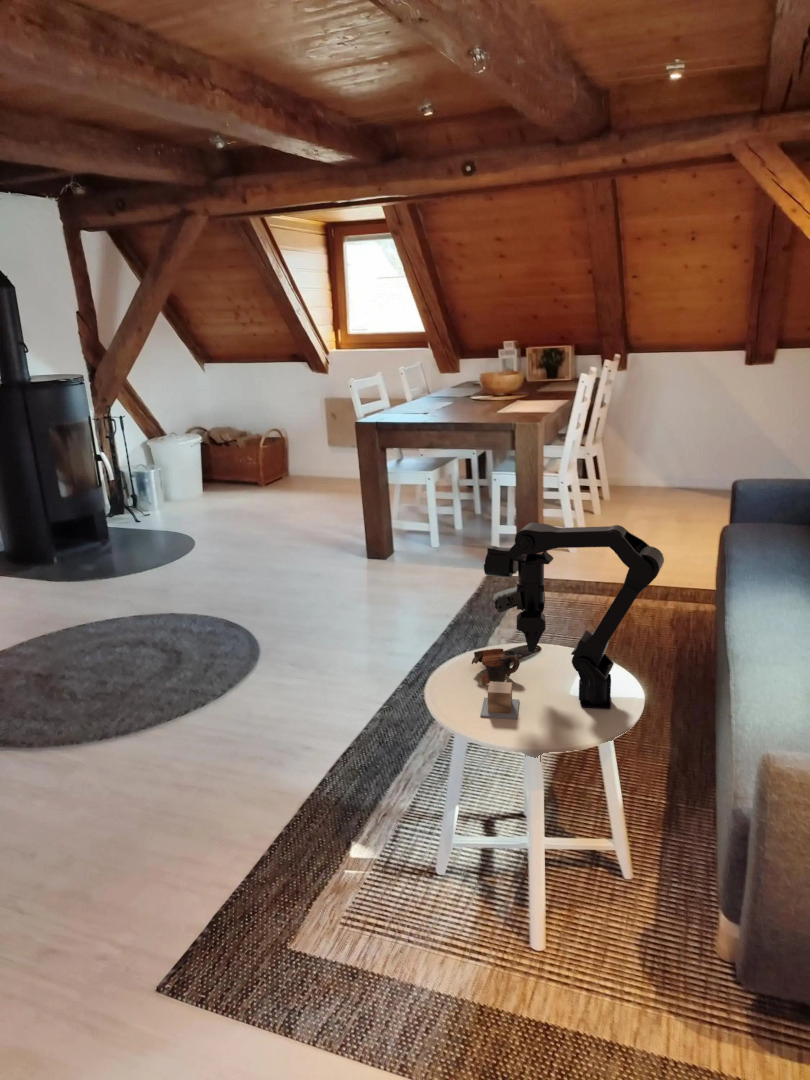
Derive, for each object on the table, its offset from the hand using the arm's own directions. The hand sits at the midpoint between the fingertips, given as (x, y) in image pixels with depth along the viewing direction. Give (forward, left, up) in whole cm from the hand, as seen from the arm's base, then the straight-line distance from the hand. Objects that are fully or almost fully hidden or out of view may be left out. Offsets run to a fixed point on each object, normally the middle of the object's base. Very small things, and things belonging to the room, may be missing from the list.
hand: (531, 643), depth 178 cm
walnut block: (+6, +10, -12) cm, 16 cm away
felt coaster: (+6, +10, -12) cm, 17 cm away
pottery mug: (+9, -6, -12) cm, 16 cm away
